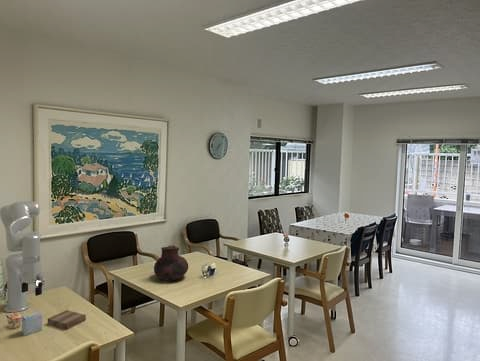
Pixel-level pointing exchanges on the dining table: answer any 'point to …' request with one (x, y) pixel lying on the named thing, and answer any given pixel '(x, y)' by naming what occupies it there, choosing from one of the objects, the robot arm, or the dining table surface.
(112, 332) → the dining table surface
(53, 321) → the walnut stand
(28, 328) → the medicine box
